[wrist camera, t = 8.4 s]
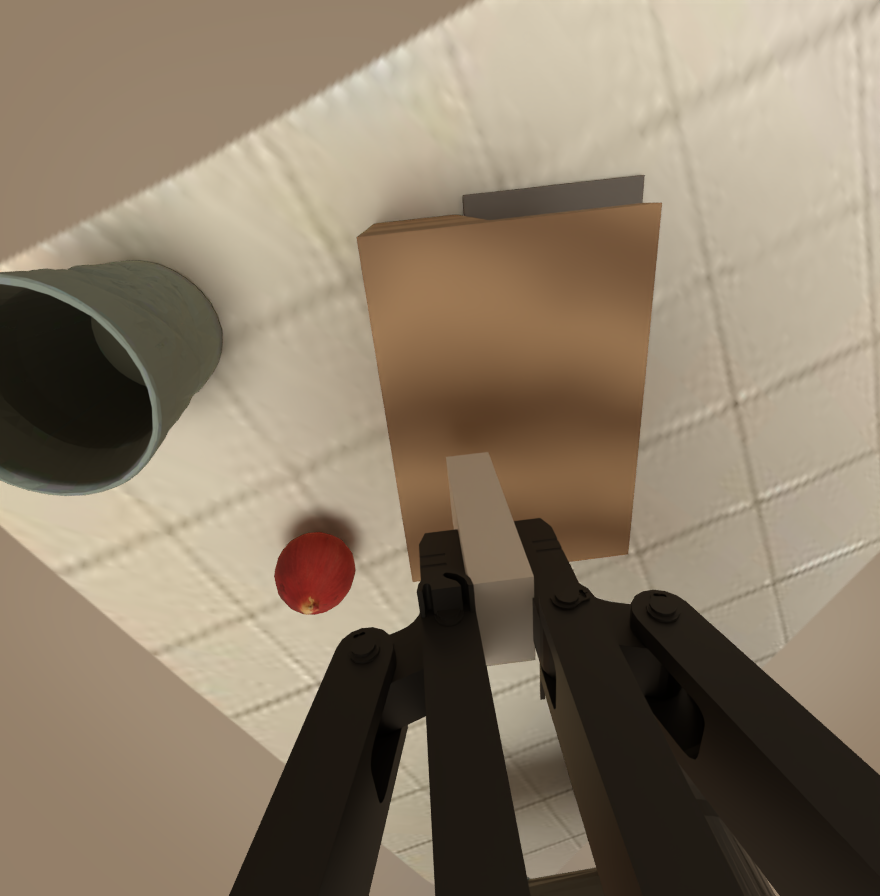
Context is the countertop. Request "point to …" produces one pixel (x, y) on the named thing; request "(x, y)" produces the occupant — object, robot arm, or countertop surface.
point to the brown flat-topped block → (516, 363)
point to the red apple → (314, 573)
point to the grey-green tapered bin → (96, 371)
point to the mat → (554, 198)
